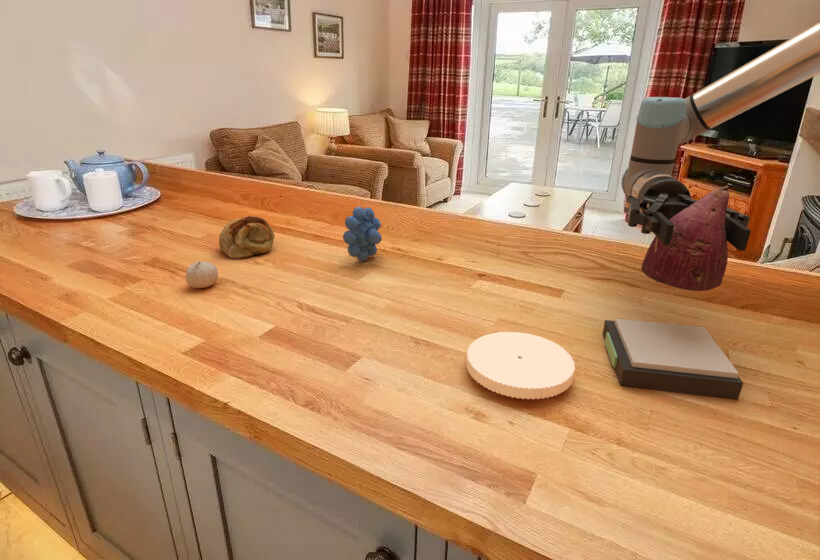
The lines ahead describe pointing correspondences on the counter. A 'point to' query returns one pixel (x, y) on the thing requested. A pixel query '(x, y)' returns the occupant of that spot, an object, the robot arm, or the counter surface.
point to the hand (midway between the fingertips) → (706, 237)
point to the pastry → (246, 237)
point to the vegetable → (693, 246)
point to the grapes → (362, 233)
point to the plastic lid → (520, 365)
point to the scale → (670, 358)
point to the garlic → (201, 274)
